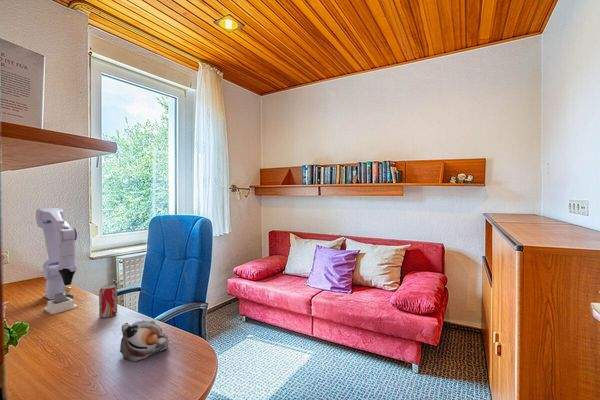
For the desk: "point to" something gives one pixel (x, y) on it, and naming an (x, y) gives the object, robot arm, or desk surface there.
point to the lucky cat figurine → (142, 340)
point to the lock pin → (67, 290)
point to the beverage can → (107, 301)
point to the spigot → (60, 298)
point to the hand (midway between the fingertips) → (67, 284)
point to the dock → (60, 305)
